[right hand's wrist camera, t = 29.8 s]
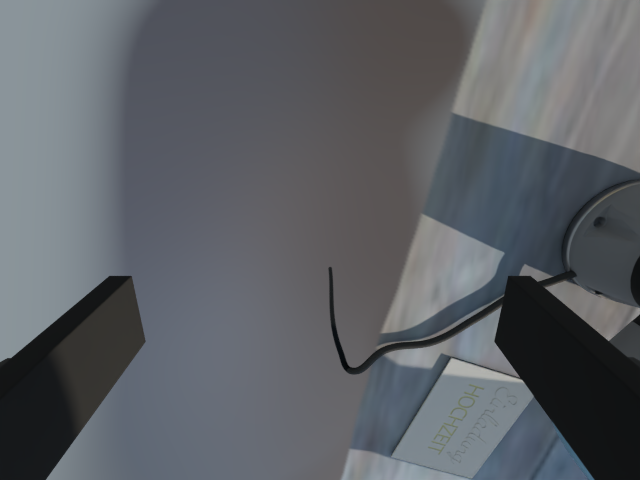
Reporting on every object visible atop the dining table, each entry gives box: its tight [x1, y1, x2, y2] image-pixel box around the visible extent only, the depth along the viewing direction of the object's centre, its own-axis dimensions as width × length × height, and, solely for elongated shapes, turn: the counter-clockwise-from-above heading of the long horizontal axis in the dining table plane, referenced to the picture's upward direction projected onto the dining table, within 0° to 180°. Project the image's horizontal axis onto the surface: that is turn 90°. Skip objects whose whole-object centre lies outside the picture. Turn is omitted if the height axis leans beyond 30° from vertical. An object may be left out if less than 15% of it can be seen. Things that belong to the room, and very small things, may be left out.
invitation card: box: [391, 357, 534, 479], centre depth 56 cm, size 21×1×15 cm
